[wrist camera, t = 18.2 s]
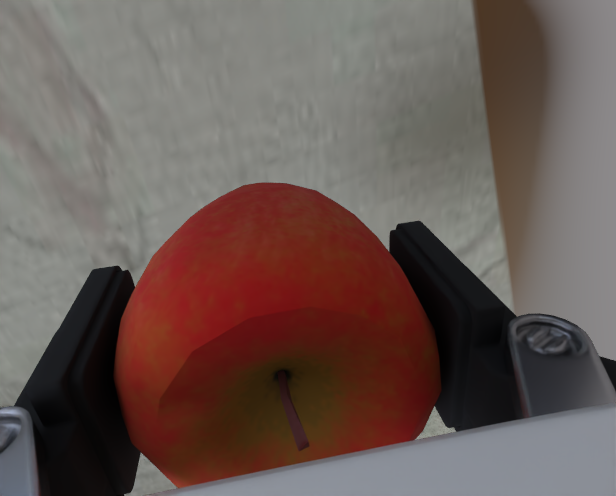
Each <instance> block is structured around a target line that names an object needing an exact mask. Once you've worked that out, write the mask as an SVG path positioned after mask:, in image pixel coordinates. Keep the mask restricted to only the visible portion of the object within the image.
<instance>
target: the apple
mask: <svg viewBox="0 0 616 496" xmlns="http://www.w3.org/2000/svg"><path fill="white" fill-rule="evenodd" d="M113 379H114V383H115V387H116V392H117V396H118V400H119V405H120V409H121V413H122V417H123V420H124V423H125V425H126V428H127V431H128V434H129V437H130V440H131V443H132V444H133V445H134V446H135V447H136V448H137V449H138V450H139V451H140V452H141V453H142V454H143V455H144V456H145V457H147V458H148V459H149V460H150V461H151V462H152V463H153V464H154V465H155V466H156V467H157V468H158V469H159V470H160V471H161V472H162V473H163V474H164V475H165V476H166V477H167V478H168V479H169V480H170V481H171V482H172V483H173V484H174V485H175V486H177V487H178V488H182V487H187V486H192V485H197V484H201V483H206V482H211V481H216V480H221V479H225V478H230V477H235V476H240V475H245V474H250V473H255V472H260V471H264V470H269V469H274V468H279V467H284V466H289V465H294V464H299V463H303V462H308V461H313V460H318V459H323V458H328V457H333V456H338V455H343V454H348V453H353V452H358V451H363V450H368V449H372V448H377V447H382V446H387V445H392V444H397V443H403V442H408V441H413V440H415V439H416V438H417V437H418V436H419V435H420V433H421V432H422V431H423V429H424V427H425V425H426V423H427V421H428V419H429V416H430V414H431V412H432V410H433V408H434V406H435V403H436V401H437V399H438V397H439V395H440V393H441V377H440V363H439V353H438V347H437V341H436V334H435V329H434V327H433V326H432V324H431V322H430V320H429V318H428V316H427V314H426V313H425V311H424V309H423V307H422V305H421V303H420V302H419V300H418V298H417V296H416V294H415V292H414V290H413V289H412V287H411V285H410V283H409V281H408V279H407V277H406V276H405V274H404V272H403V270H402V269H401V267H400V265H399V264H398V263H397V262H396V260H395V259H394V258H393V256H392V255H391V254H390V253H389V251H388V250H387V249H386V248H385V246H384V245H383V244H382V242H381V241H380V240H379V239H378V237H377V236H376V235H375V234H374V233H373V232H372V231H371V230H370V229H369V228H368V227H367V226H366V225H365V224H363V223H362V222H361V221H360V220H359V219H358V218H357V217H356V216H355V215H354V214H353V213H351V212H350V211H348V210H347V209H345V208H344V207H342V206H341V205H339V204H338V203H336V202H334V201H333V200H331V199H329V198H328V197H326V196H324V195H323V194H321V193H319V192H318V191H315V190H311V189H307V188H303V187H299V186H295V185H291V184H287V183H255V184H249V185H244V186H241V187H239V188H237V189H235V190H233V191H231V192H229V193H227V194H225V195H223V196H221V197H219V198H218V199H216V200H214V201H213V202H211V203H210V204H208V205H206V206H205V207H203V208H202V209H201V210H199V211H198V212H197V213H195V214H194V215H193V216H192V217H190V218H189V219H188V220H187V221H186V222H185V223H184V224H183V225H182V226H181V227H180V228H179V229H178V230H177V231H176V232H175V233H174V234H173V235H172V236H171V237H170V238H169V239H168V240H167V241H166V242H165V243H164V244H163V246H162V247H161V248H160V249H159V250H158V251H157V252H156V253H155V254H154V255H153V257H152V259H151V260H150V262H149V264H148V266H147V267H146V269H145V271H144V273H143V275H142V276H141V278H140V280H139V282H138V284H137V285H136V287H135V289H134V291H133V292H132V294H131V297H130V299H129V301H128V304H127V306H126V308H125V311H124V313H123V316H122V318H121V322H120V327H119V332H118V337H117V342H116V349H115V360H114V372H113Z"/></svg>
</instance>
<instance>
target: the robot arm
mask: <svg viewBox="0 0 616 496" xmlns="http://www.w3.org/2000/svg"><path fill="white" fill-rule="evenodd" d="M390 254H391V255H392V256H393V258H394V259H395V260H396V262H397V263H398V264H399V265H400V267H401V269H402V270H403V272H404V274H405V276H406V277H407V279H408V281H409V283H410V285H411V287H412V289H413V290H414V292H415V294H416V296H417V298H418V300H419V302H420V303H421V305H422V307H423V309H424V311H425V313H426V314H427V316H428V318H429V320H430V322H431V324H432V326H433V327H434V329H435V334H436V341H437V347H438V353H439V363H440V377H441V393H440V395H439V397H438V399H437V401H436V403H435V407H436V409H437V411H438V413H439V415H440V417H441V418H442V420H443V422H444V424H445V425H446V426H447V427H448V428H452V427H454V428H455V430H456V432H453V433H448V434H443V435H438V436H433V437H428V438H423V439H418V440H413V441H408V442H403V443H397V444H392V445H387V446H382V447H377V448H372V449H368V450H363V451H358V452H353V453H348V454H343V455H338V456H333V457H328V458H323V459H318V460H313V461H308V462H303V463H299V464H294V465H289V466H284V467H279V468H274V469H269V470H264V471H260V472H255V473H250V474H245V475H240V476H235V477H230V478H225V479H221V480H216V481H211V482H206V483H201V484H197V485H192V486H187V487H182V488H177V489H173V490H168V491H163V492H158V493H154V494H149V495H144V496H616V361H614V360H610V359H607V358H604V357H600V356H599V355H598V353H597V351H596V349H595V347H594V345H593V343H592V341H591V339H590V337H589V336H588V335H587V334H586V332H585V331H583V330H582V329H581V328H579V327H578V326H577V325H575V324H573V323H571V322H569V321H567V320H565V319H562V318H559V317H556V316H552V315H546V314H526V315H521V316H518V317H517V316H516V315H515V314H514V313H513V312H512V311H511V310H510V309H509V308H508V307H507V306H506V305H505V304H504V303H503V302H502V301H501V300H500V299H499V298H498V297H497V296H496V295H495V294H494V293H493V292H492V291H491V290H490V289H489V288H488V287H487V286H486V285H485V284H484V283H483V282H482V281H480V280H479V279H478V278H477V277H476V276H475V275H474V274H473V273H472V272H471V271H470V270H469V269H468V268H467V267H466V266H465V265H464V264H463V263H462V262H461V261H460V260H459V259H458V258H457V257H456V256H455V255H454V254H453V253H452V252H451V251H450V250H449V249H448V248H447V247H446V246H445V245H444V244H443V243H442V242H441V241H440V240H439V239H438V238H437V237H436V236H435V235H434V234H433V233H432V232H431V231H430V230H429V229H428V228H427V227H426V226H425V225H424V224H423V223H422V222H421V221H414V222H408V223H401V224H398V225H397V227H396V230H391V232H390ZM134 289H135V286H134V283H133V279H132V276H131V274H130V272H129V271H128V270H125V271H122V269H121V268H120V267H119V266H112V267H106V268H99V269H93V270H92V271H91V273H90V275H89V277H88V278H87V280H86V282H85V284H84V285H83V287H82V289H81V291H80V293H79V294H78V296H77V298H76V300H75V301H74V303H73V305H72V307H71V308H70V310H69V312H68V314H67V315H66V317H65V319H64V321H63V323H62V324H61V326H60V328H59V329H58V331H57V332H56V333H55V335H54V336H53V338H52V340H51V342H50V343H49V345H48V347H47V349H46V350H45V352H44V354H43V356H42V357H41V359H40V361H39V363H38V365H37V366H36V368H35V370H34V372H33V373H32V375H31V377H30V379H29V380H28V382H27V384H26V386H25V387H24V389H23V391H22V393H21V394H20V396H19V398H18V400H17V401H16V403H15V405H14V406H8V407H1V408H0V496H124V494H127V493H130V492H131V491H132V489H133V486H134V482H135V477H136V472H137V467H138V462H139V458H140V453H141V452H140V451H139V450H138V449H137V448H136V447H135V446H134V445H133V444H132V443H131V440H130V437H129V434H128V431H127V428H126V425H125V423H124V420H123V417H122V413H121V409H120V405H119V400H118V396H117V392H116V387H115V383H114V379H113V372H114V360H115V349H116V342H117V337H118V332H119V327H120V322H121V318H122V316H123V313H124V311H125V308H126V306H127V304H128V301H129V299H130V297H131V294H132V292H133V291H134Z"/></svg>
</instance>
